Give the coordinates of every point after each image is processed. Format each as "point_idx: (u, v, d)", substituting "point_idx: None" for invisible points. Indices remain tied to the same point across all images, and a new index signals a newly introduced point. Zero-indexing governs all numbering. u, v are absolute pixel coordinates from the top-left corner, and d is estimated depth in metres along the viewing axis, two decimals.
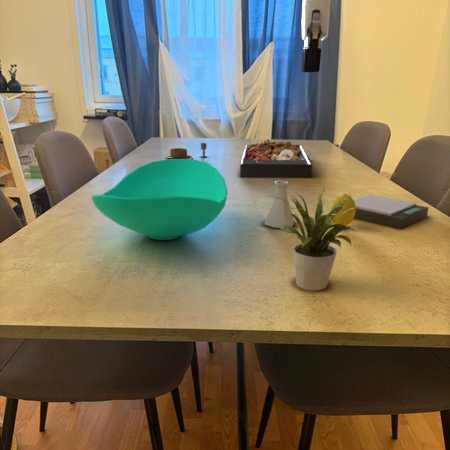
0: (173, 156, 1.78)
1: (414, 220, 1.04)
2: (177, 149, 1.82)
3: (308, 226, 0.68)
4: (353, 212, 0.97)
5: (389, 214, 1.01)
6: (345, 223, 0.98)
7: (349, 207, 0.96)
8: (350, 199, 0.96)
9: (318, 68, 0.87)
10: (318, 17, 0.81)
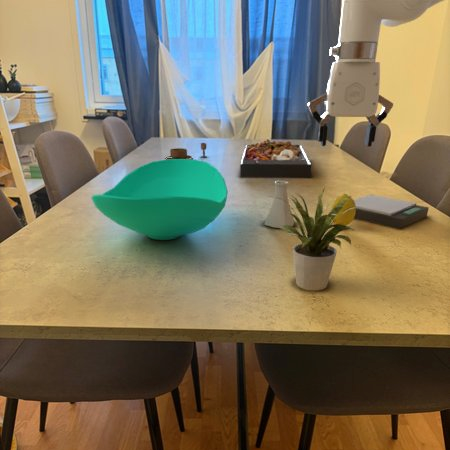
0: (173, 156, 1.78)
1: (414, 220, 1.04)
2: (177, 149, 1.82)
3: (308, 226, 0.68)
4: (353, 212, 0.97)
5: (389, 214, 1.01)
6: (345, 223, 0.98)
7: (349, 207, 0.96)
8: (350, 199, 0.96)
9: (322, 143, 0.92)
10: (315, 99, 0.89)
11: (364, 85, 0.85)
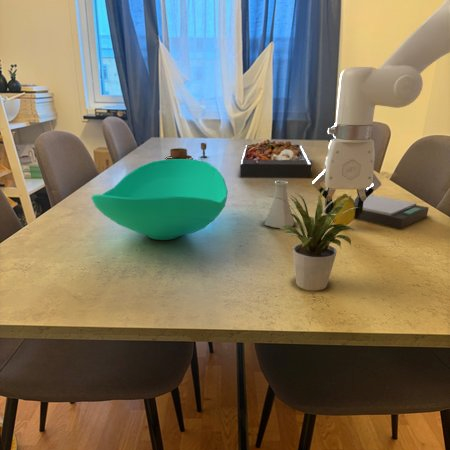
0: (173, 156, 1.78)
1: (414, 220, 1.04)
2: (177, 149, 1.82)
3: (308, 226, 0.68)
4: (353, 212, 0.97)
5: (389, 214, 1.01)
6: (345, 223, 0.98)
7: (349, 207, 0.96)
8: (350, 199, 0.96)
9: None
10: (317, 178, 0.95)
11: (360, 162, 0.91)
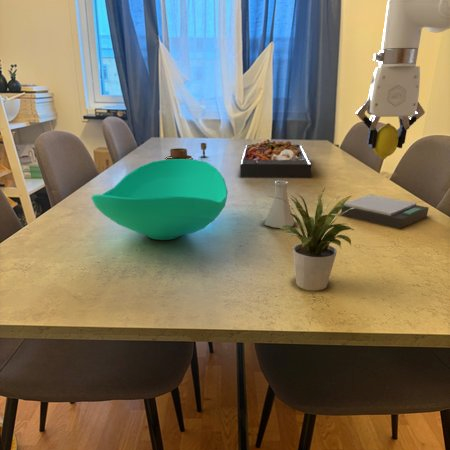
0: (173, 156, 1.78)
1: (414, 220, 1.04)
2: (177, 149, 1.82)
3: (308, 226, 0.68)
4: (396, 141, 0.99)
5: (389, 214, 1.01)
6: (388, 153, 1.00)
7: (393, 135, 0.98)
8: (394, 128, 0.98)
9: (371, 145, 1.00)
10: (362, 107, 0.97)
11: (405, 87, 0.93)
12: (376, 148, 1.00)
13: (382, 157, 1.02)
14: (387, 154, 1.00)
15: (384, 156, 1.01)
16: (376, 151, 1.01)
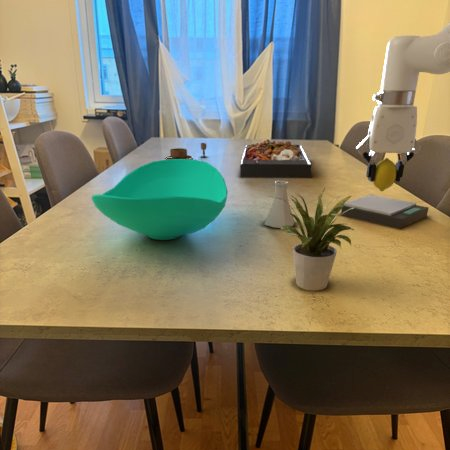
0: (173, 156, 1.78)
1: (414, 220, 1.04)
2: (177, 149, 1.82)
3: (308, 226, 0.68)
4: (394, 175, 1.04)
5: (389, 214, 1.01)
6: (386, 186, 1.05)
7: (391, 170, 1.03)
8: (392, 163, 1.03)
9: (371, 179, 1.05)
10: (362, 143, 1.02)
11: (403, 126, 0.98)
12: (375, 181, 1.05)
13: (381, 189, 1.07)
14: (385, 187, 1.05)
15: (382, 189, 1.06)
16: (375, 184, 1.06)
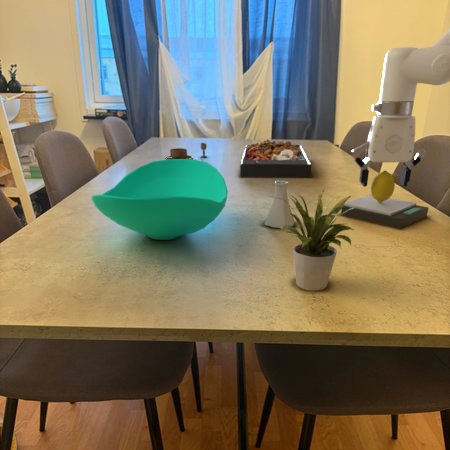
0: (173, 156, 1.78)
1: (414, 220, 1.04)
2: (177, 149, 1.82)
3: (308, 226, 0.68)
4: (392, 187, 1.05)
5: (389, 214, 1.01)
6: (385, 198, 1.06)
7: (389, 182, 1.04)
8: (390, 175, 1.04)
9: (364, 184, 1.05)
10: (359, 147, 1.02)
11: (402, 136, 0.99)
12: (373, 193, 1.07)
13: (379, 201, 1.08)
14: (384, 199, 1.06)
15: (381, 200, 1.07)
16: (373, 196, 1.07)
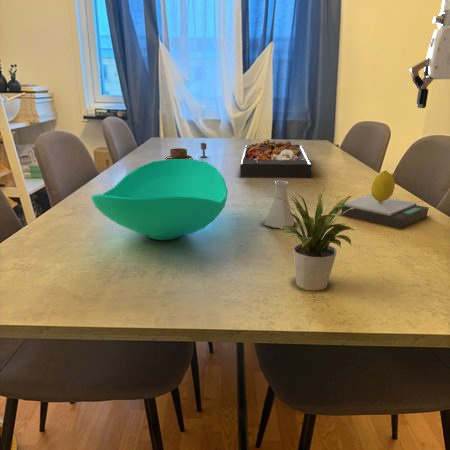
0: (173, 156, 1.78)
1: (414, 220, 1.04)
2: (177, 149, 1.82)
3: (308, 226, 0.68)
4: (392, 187, 1.05)
5: (389, 214, 1.01)
6: (385, 198, 1.06)
7: (389, 182, 1.04)
8: (390, 175, 1.04)
9: (422, 105, 1.00)
10: (418, 64, 0.97)
11: None
12: (373, 193, 1.07)
13: (379, 201, 1.08)
14: (384, 199, 1.06)
15: (381, 200, 1.07)
16: (373, 196, 1.07)
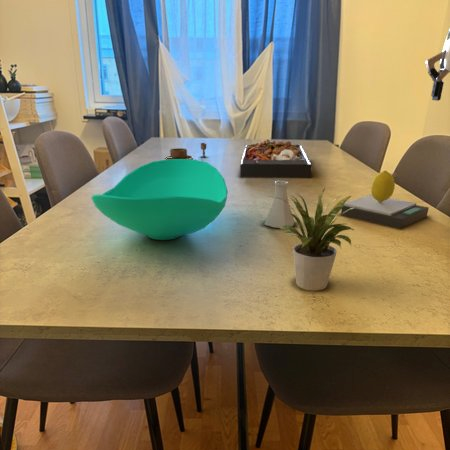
0: (173, 156, 1.78)
1: (414, 220, 1.04)
2: (177, 149, 1.82)
3: (308, 226, 0.68)
4: (392, 187, 1.05)
5: (389, 214, 1.01)
6: (385, 198, 1.06)
7: (389, 182, 1.04)
8: (390, 175, 1.04)
9: (437, 97, 1.01)
10: (434, 56, 0.98)
11: None
12: (373, 193, 1.07)
13: (379, 201, 1.08)
14: (384, 199, 1.06)
15: (381, 200, 1.07)
16: (373, 196, 1.07)
